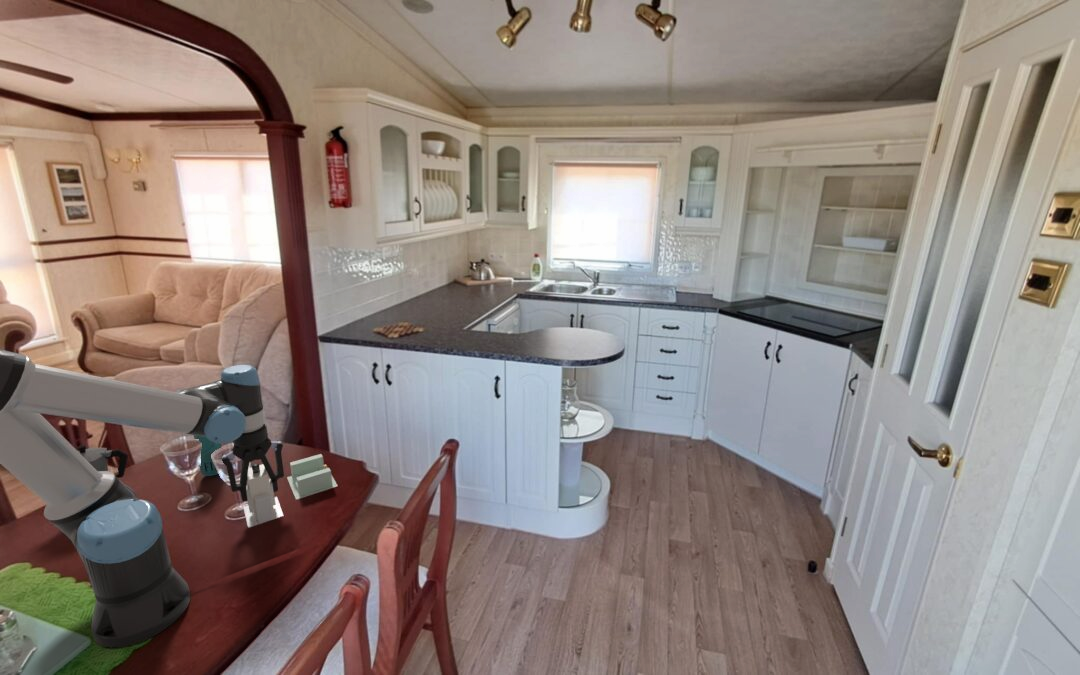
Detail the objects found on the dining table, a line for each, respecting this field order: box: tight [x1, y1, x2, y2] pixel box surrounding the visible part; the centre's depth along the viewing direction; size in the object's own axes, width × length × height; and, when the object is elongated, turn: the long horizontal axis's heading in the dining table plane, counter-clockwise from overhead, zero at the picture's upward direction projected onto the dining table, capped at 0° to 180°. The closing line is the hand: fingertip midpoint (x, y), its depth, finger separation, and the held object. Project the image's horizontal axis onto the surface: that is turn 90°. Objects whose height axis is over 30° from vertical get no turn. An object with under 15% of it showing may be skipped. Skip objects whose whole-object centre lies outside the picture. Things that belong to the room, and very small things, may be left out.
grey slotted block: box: [243, 493, 284, 529], centre depth 124 cm, size 10×8×8 cm
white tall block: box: [247, 462, 274, 521], centre depth 123 cm, size 6×4×14 cm
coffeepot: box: [76, 444, 129, 479], centre depth 124 cm, size 15×9×18 cm, turn 110°
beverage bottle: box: [193, 435, 223, 477], centre depth 139 cm, size 6×7×20 cm
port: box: [286, 453, 338, 501], centre depth 137 cm, size 13×11×6 cm
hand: (262, 505), depth 124 cm, fingers closed on white tall block, 4 cm apart
